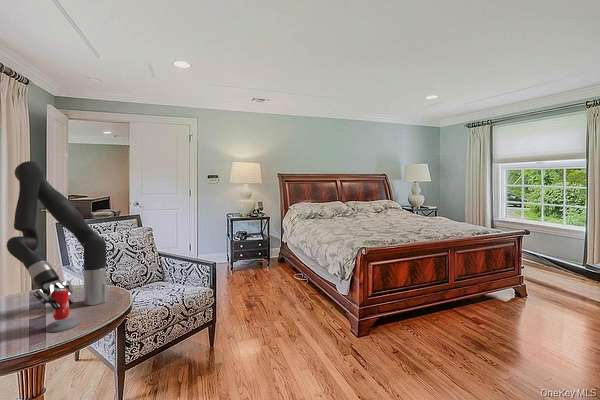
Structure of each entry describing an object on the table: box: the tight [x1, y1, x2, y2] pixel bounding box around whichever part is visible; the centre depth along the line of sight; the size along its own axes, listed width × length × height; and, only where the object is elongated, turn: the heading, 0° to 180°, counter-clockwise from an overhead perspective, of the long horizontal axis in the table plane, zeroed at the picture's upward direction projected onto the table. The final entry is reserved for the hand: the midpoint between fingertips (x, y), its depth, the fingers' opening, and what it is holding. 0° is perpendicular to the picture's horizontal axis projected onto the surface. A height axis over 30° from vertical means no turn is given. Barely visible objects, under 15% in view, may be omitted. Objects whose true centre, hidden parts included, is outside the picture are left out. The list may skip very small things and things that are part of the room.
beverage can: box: [52, 288, 70, 321], centre depth 128 cm, size 5×5×12 cm
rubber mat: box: [45, 318, 80, 333], centre depth 129 cm, size 11×11×1 cm
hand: (65, 306), depth 128 cm, fingers closed on beverage can, 5 cm apart
